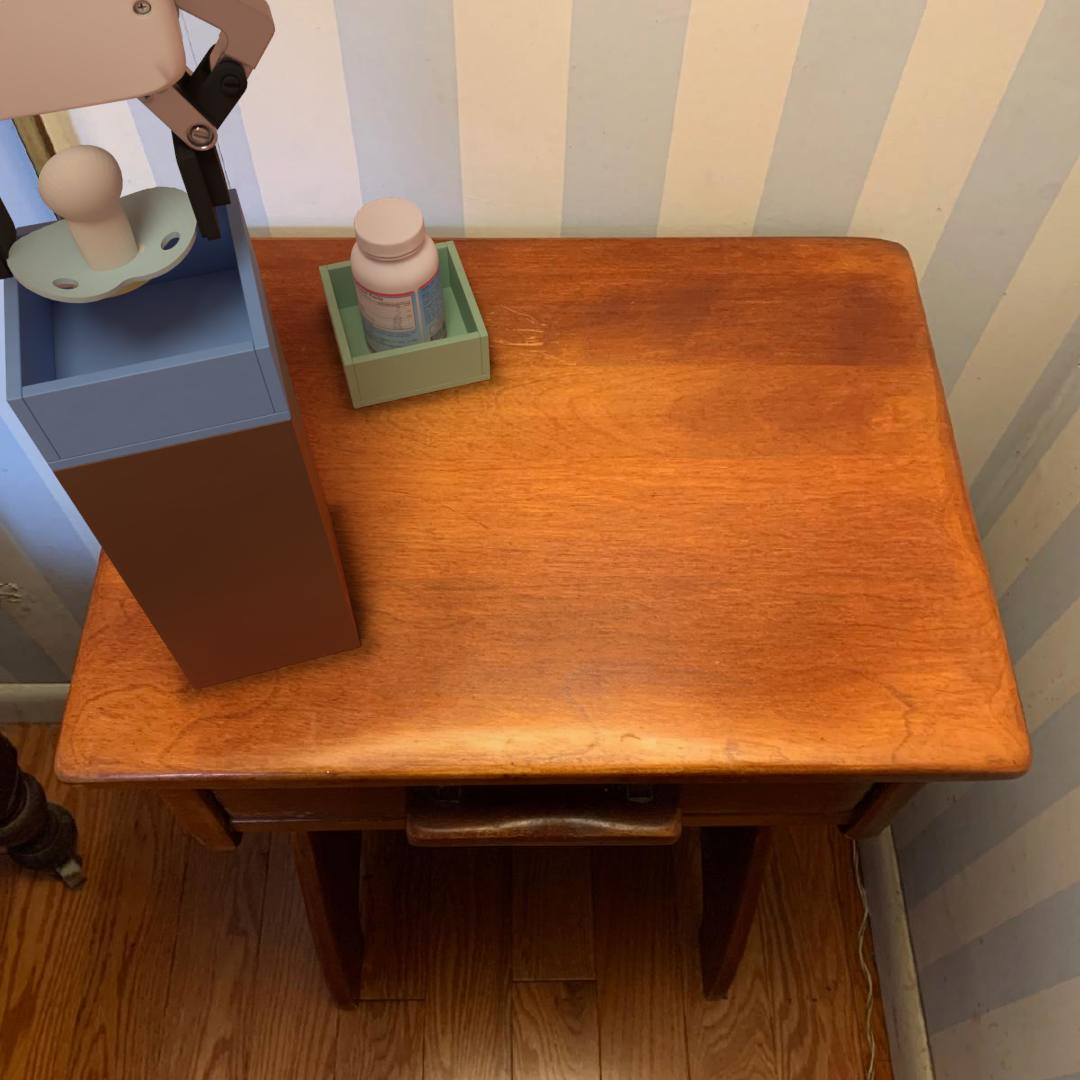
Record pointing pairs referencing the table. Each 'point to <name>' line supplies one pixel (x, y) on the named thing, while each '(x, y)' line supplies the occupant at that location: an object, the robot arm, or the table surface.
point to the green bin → (415, 364)
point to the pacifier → (100, 231)
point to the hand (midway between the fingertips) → (109, 233)
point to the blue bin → (188, 456)
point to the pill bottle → (396, 276)
